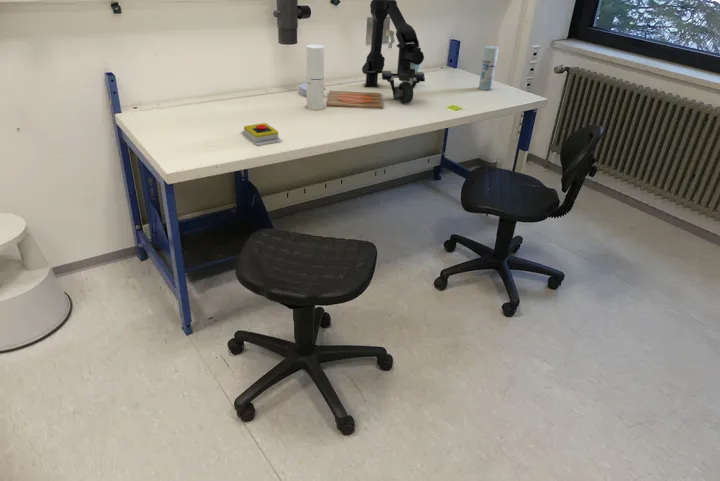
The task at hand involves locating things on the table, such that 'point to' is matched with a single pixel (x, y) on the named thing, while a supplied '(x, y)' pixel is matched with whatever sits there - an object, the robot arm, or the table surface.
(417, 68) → the disposable coffee cup
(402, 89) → the caster wheel
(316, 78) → the cylindrical container
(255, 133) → the emergency button
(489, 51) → the spray paint can
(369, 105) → the wooden board
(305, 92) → the wedge on round base
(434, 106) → the table surface
